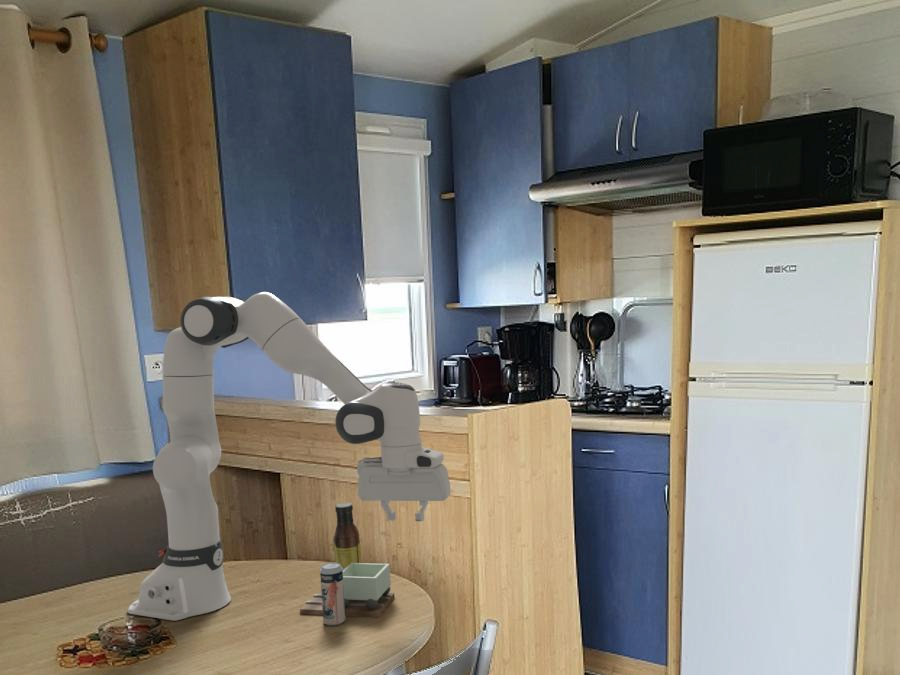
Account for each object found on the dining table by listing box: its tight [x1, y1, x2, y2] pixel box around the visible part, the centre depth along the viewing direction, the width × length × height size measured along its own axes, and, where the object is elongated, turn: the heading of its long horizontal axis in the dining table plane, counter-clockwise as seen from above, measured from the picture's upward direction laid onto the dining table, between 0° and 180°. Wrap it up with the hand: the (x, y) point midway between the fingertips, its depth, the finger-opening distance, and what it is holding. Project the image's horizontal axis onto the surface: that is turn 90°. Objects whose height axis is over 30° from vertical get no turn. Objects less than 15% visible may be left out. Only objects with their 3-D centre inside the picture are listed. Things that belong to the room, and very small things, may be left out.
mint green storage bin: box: [343, 562, 392, 610], centre depth 163 cm, size 9×9×7 cm
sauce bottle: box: [333, 502, 363, 570], centre depth 175 cm, size 7×6×20 cm
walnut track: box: [299, 590, 395, 618], centre depth 164 cm, size 18×11×1 cm, turn 76°
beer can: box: [319, 562, 347, 627], centre depth 155 cm, size 5×5×12 cm
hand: (405, 520), depth 160 cm, fingers open, 5 cm apart
